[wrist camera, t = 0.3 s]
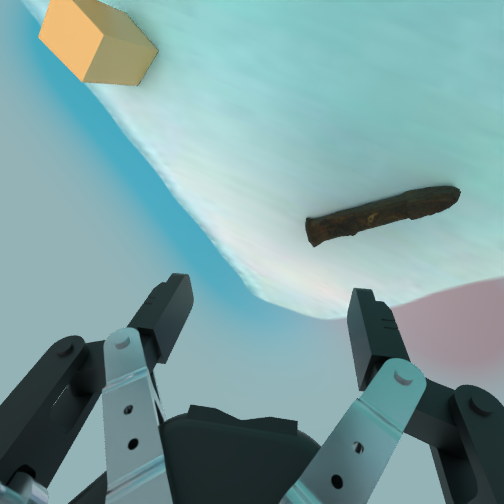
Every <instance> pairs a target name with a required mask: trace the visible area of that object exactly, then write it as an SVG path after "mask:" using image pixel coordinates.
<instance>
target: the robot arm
mask: <svg viewBox="0 0 504 504" xmlns="http://www.w3.org/2000/svg"><path fill="white" fill-rule="evenodd" d="M193 300H194V299H193V292H192V287H191V283H190V278H189V275H188V274H179V273H173V274H172V275H171V276H170V277H169V279H168V281H167V282H166V283H165V282H162V283H160V284H159V285H158V286H157V287H155V288H154V289H153V290H152V292H151V293H150V294H149V296H148V298H147V299H146V300H145V302H144V304H143V305H142V306H141V307H140V309H139V310H138V312H137V313H136V314H135V316H134V317H133V319H132V320H131V322H130V323H129V324H128V326H127V327H126V328H122V329H119V330H117V331H115V332H113V333H112V334H111V335H110V336H109V337H108V338H107V339H106V340H103V341H97V342H91V343H85V341H84V339H83V338H82V337H80V336H68V337H65V338H63V339H61V340H59V341H57V342H56V343H54V344H53V345H52V346H51V347H50V348H49V349H48V350H47V352H46V353H45V354H44V355H43V356H42V357H41V359H40V360H39V361H38V362H37V363H36V364H35V365H34V367H33V368H32V369H31V370H30V371H29V372H28V374H27V375H26V376H25V377H24V378H23V380H22V381H21V382H20V383H19V384H18V385H17V387H16V388H15V389H14V390H13V391H12V392H11V393H10V395H9V396H8V397H7V398H6V399H5V400H4V402H3V403H2V404H1V405H0V504H48V491H47V488H48V486H49V484H50V482H51V480H52V479H53V477H54V475H55V474H56V472H57V470H58V468H59V466H60V465H61V463H62V461H63V460H64V458H65V456H66V454H67V452H68V451H69V449H70V447H71V446H72V444H73V442H74V440H75V439H76V437H77V435H78V433H79V432H80V430H81V428H82V426H83V424H84V423H85V421H86V419H87V418H88V416H89V414H90V412H91V410H92V409H93V407H94V405H95V403H96V401H97V400H98V398H99V396H100V394H101V393H102V401H103V418H104V434H105V450H106V465H107V471H105V472H104V473H103V474H102V475H101V476H100V477H98V478H97V479H96V480H95V481H94V482H93V483H91V484H90V485H89V486H88V487H87V488H86V489H84V490H83V491H82V492H81V493H80V494H79V495H77V496H76V497H75V498H74V499H73V500H72V501H70V502H69V503H68V504H367V502H368V499H369V498H370V496H371V494H372V492H373V490H374V488H375V486H376V484H377V482H378V480H379V479H380V476H381V475H382V473H383V471H384V469H385V467H386V465H387V463H388V461H389V459H390V457H391V455H392V453H393V452H394V450H395V448H396V446H397V444H398V442H399V440H400V438H401V436H402V433H403V432H404V433H406V434H409V435H411V436H413V437H415V438H417V439H419V440H421V441H423V442H425V443H427V444H429V445H430V449H431V452H432V456H433V460H434V463H435V467H436V470H437V474H438V477H439V480H440V484H441V488H442V491H443V495H444V498H445V502H446V504H504V407H503V405H502V404H501V403H500V402H499V401H498V400H497V399H496V398H495V397H494V396H493V395H491V394H490V393H489V392H487V391H485V390H483V389H481V388H479V387H476V386H473V385H462V386H459V387H458V388H457V389H456V390H453V389H451V388H448V387H446V386H443V385H440V384H438V383H435V382H433V381H431V380H429V379H427V378H426V377H424V375H423V373H422V372H421V371H420V369H419V368H418V367H416V366H415V365H413V364H412V363H411V361H410V359H409V356H408V353H407V351H406V348H405V345H404V343H403V340H402V337H401V335H400V332H399V330H398V327H397V324H396V322H395V319H394V316H393V313H392V311H391V309H390V308H389V307H388V306H387V305H386V304H385V303H384V302H381V301H375V297H374V294H373V291H372V290H371V289H361V288H354V289H353V292H352V296H351V300H350V304H349V309H348V314H347V324H348V330H349V335H350V341H351V346H352V352H353V358H354V364H355V369H356V376H357V381H358V387H359V391H364V393H363V394H362V396H361V397H360V398H359V399H358V398H357V399H356V400H355V401H354V402H353V404H352V405H351V406H350V408H349V409H348V410H347V412H346V413H345V415H344V416H343V418H342V419H341V420H340V422H339V423H338V425H337V426H336V427H335V429H334V430H333V432H332V433H331V434H330V436H329V437H328V438H327V440H326V441H325V443H324V444H323V445H322V447H321V446H320V445H319V444H318V443H317V442H316V441H315V440H313V439H312V438H311V437H310V436H308V435H307V434H305V433H303V432H301V431H299V430H297V423H298V421H294V420H287V419H281V418H274V417H265V418H257V419H249V420H239V419H237V418H235V417H233V416H231V415H228V414H226V413H224V412H222V411H220V410H218V409H216V408H210V407H204V406H197V405H190V408H189V411H188V413H184V414H181V415H177V416H175V417H172V418H170V419H168V420H167V419H166V416H165V413H164V410H163V406H162V402H161V398H160V394H159V391H158V386H157V382H156V378H155V374H154V370H153V369H154V367H155V365H156V363H162V364H165V363H166V362H167V360H168V357H169V355H170V353H171V351H172V349H173V347H174V345H175V343H176V341H177V339H178V337H179V334H180V332H181V330H182V328H183V326H184V324H185V322H186V320H187V317H188V315H189V313H190V311H191V309H192V306H193ZM64 389H65V390H64ZM63 390H64V391H63ZM62 392H63V393H62ZM61 393H62V394H61ZM60 395H61V396H60ZM59 396H60V397H59ZM58 397H59V399H58ZM57 399H58V400H57ZM55 402H56V403H55ZM54 403H55V404H54ZM53 405H54V406H53Z"/></svg>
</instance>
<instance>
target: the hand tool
mask: <svg viewBox="0 0 504 504" xmlns="http://www.w3.org/2000/svg"><path fill="white" fill-rule="evenodd" d="M460 193H461V191H460V189H458V188H456V187H452V186H441V187H429V188H424V189H418V190H411V191H407V192H405V193H403V195H401V196H397V197H394V198H390V199H386V200H382V201H378V202H375V203H370V204H366V205H364V206H361V207H357V208H354V209H349V210H345V211H341V212H337V213H335V214H331V215H329V216H326V217H322V218H319V219H309V218H306V222H305V227H306V232H307V236H308V240H309V242H310V243H311V244H312V245H313V247H316V246H317V245H319V244H321V243H322V242H324V241H326V240H330V239H334V238H337V237H340V236H349V235H351V236H354V235H356V234H357V232H359V231H363V230H366V229H370V228H374V227H378V226H381V225H385V224H389V223H392V222H395V221H399V220H403V219H407V218H410V219H411V220H414V219H418V218H422V217H424V216H427V215H433V214H435V213H439V212H441V211H443V210H445V209H447V208H450V207H451V206H452V205H453V204H455V203H456V202H457V201H458V199H459V196H460Z"/></svg>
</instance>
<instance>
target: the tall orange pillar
mask: <svg viewBox="0 0 504 504" xmlns="http://www.w3.org/2000/svg"><path fill="white" fill-rule="evenodd" d="M38 37H39V39H41V41H42V42H43V43H44V44H45V45H46V46H47V47H48V48H49V49H50V50H51V51H52V52H53V53H54V54H55V55H56V56H57V57H58V58H59V59H60V60H61V61H62V62H63V63H64V64H65V65H66V66H67V67H68V68H69V69H70V70H71V71H72V72H73V73H74V74H75V75H76V76H77V77H78V78H79V80H80V81H81V82H88V83H103V84H117V85H132V86H138V85H139V83H140V81H141V80H142V78H143V76H144V75H145V73H146V71H147V69H148V68H149V66H150V64H151V63H152V61H153V59H154V58H155V56H156V54H157V53H158V50H157V48H156V47H155V46H154V45H153V44H152V43H151V42H150V40H149V39H148V38H147V37H146V36H145V35H144V34H143V32H142V31H141V30H140V29H139V28H138V27H137V26H136V24H135V23H134V22H133V21H132V20H131V19H130V18H129V16H128V15H127V14H126V13H125V12H123V11H120V10H118V9H116V8H113V7H111V6H109V5H106V4H104V3H102V2H99V1H97V0H50V3H49V6H48V9H47V12H46V15H45V18H44V21H43V24H42V27H41V30H40V33H39V36H38Z"/></svg>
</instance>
